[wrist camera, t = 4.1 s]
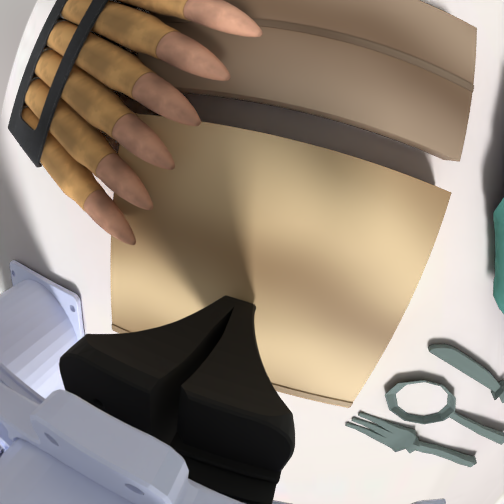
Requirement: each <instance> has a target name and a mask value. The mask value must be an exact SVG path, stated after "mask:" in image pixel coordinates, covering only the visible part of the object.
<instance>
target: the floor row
mask: <svg viewBox="0 0 504 504" xmlns="http://www.w3.org/2000/svg"><path fill="white" fill-rule="evenodd" d="M224 1H226V2H228V3H229V4H231V5H233V6H235V7H237V8H238V9H240V10H241V11H243V12H244V13H245V14H247V15H248V16H249V17H250V18H251V19H253V20H254V21H255V22H256V23H257V25H258V26H259V27H260V29H261V30H262V33H263V34H262V36H260V37H245V36H239V35H234V34H229V33H225V32H221V31H218V30H215V29H211V28H208V27H205V26H202V25H200V24H197V23H195V22H192V21H188V20H184V19H181V18H178V17H175V16H167V15H161V14H157V13H154V12H150V14H151V15H153V16H155V17H157V18H158V19H160V20H161V21H162V22H164V23H165V24H166V25H168V26H170V27H172V28H174V29H176V30H178V31H179V32H180V33H182V34H184V35H186V36H188V37H190V38H192V39H194V40H195V41H197V42H199V43H200V44H201V45H203V46H204V47H206V48H207V49H208V50H210V51H211V52H212V53H213V54H214V55H215V56H216V57H217V58H218V59H219V60H220V61H221V62H222V63H223V64H224V65H225V67H226V68H227V70H228V71H229V73H230V79H229V80H227V81H220V80H212V79H208V78H204V77H200V76H197V75H194V74H191V73H188V72H186V71H183V70H181V69H178V68H176V67H174V66H172V65H170V64H168V63H166V62H164V61H163V60H159V59H157V58H154V57H152V56H150V55H148V54H144V53H139V52H138V55H137V57H138V58H139V59H140V60H141V62H142V63H143V64H144V65H145V66H146V67H148V68H149V69H151V70H152V71H154V72H155V73H157V75H158V76H160V77H161V78H163V79H164V80H166V81H167V82H169V83H170V84H171V85H173V86H174V87H175V88H176V89H177V90H179V91H180V92H184V93H194V94H203V95H211V96H218V97H225V98H232V99H239V100H245V101H250V102H256V103H261V104H267V105H272V106H277V107H281V108H286V109H290V110H295V111H299V112H303V113H307V114H311V115H315V116H319V117H323V118H327V119H330V120H334V121H338V122H341V123H345V124H348V125H351V126H355V127H358V128H361V129H364V130H367V131H370V132H373V133H376V134H379V135H382V136H385V137H388V138H391V139H393V140H396V141H399V142H402V143H404V144H407V145H409V146H412V147H415V148H417V149H420V150H422V151H424V152H427V153H429V154H432V155H434V156H436V157H439V158H441V159H443V160H451V161H459V162H460V158H461V154H462V149H463V145H464V140H465V135H466V130H467V124H468V118H469V112H470V106H471V99H472V92H473V89H474V85H473V82H474V72H475V59H476V38H477V28H476V27H474V26H472V25H470V24H468V23H467V22H465V21H463V20H461V19H459V18H457V17H455V16H453V15H451V14H449V13H447V12H445V11H443V10H440V9H438V8H436V7H434V6H431V5H429V4H427V3H424V2H422V1H419V0H224Z"/></svg>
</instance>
